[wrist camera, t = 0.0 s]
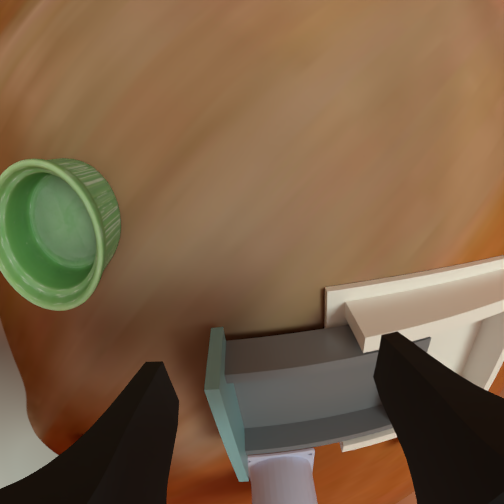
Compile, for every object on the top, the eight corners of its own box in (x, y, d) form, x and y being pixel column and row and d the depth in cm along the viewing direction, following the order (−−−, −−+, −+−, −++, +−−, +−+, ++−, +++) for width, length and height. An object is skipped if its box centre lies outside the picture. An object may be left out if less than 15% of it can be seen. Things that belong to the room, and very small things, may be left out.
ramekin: (12, 173, 15) (-28, 186, 11) (112, 132, 15) (76, 135, 11) (47, 284, 19) (17, 315, 15) (146, 268, 19) (125, 305, 15)
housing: (318, 422, 26) (327, 459, 21) (325, 287, 20) (345, 328, 15) (461, 380, 26) (479, 407, 21) (503, 255, 19) (535, 277, 15)
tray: (238, 432, 24) (239, 481, 19) (211, 328, 19) (204, 389, 14) (385, 407, 24) (403, 450, 19) (413, 298, 19) (452, 344, 14)
